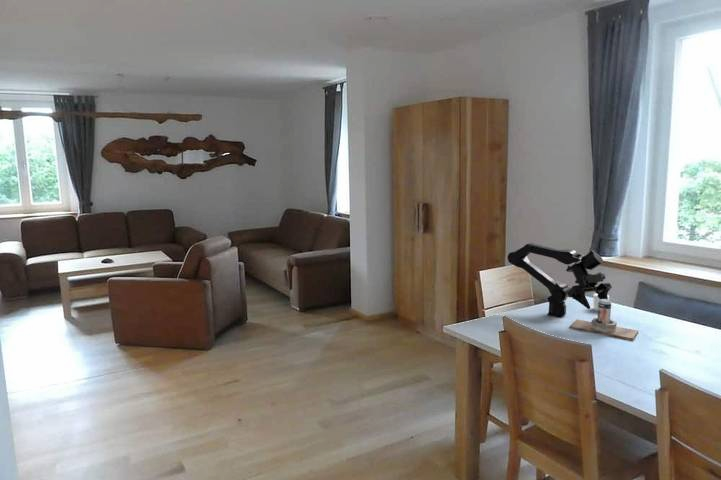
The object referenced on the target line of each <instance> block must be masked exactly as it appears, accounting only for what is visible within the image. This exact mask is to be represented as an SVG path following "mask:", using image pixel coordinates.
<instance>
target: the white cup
mask: <svg viewBox="0 0 721 480" xmlns="http://www.w3.org/2000/svg"><path fill="white" fill-rule="evenodd" d="M597 295H598V294H597V293H596V292H595V293H593V296H592V297H593V310H595V311H597V312H598V305H599V301H600V299H599V298H598V296H597ZM607 297H608V300H610V295H609V294H607Z"/></svg>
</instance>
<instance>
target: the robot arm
mask: <svg viewBox="0 0 721 480" xmlns="http://www.w3.org/2000/svg"><path fill="white" fill-rule="evenodd" d="M530 254H535V255H540V256H543V257H547V258H551V259H554V260H556V261H557V262H559V263H562V264H564V265H567V267H566V269H565V271H566V272H568V273H572V275H573V276H574V278H575V281H574V283H575V284H576V285H573V286H571V287H569V285H570V284H567V283H565V281H563V280H562V279H560V280H558V281H556V280H555V279H553V278H552V277H551V276H549V275H548V274H546V272H545V271H543V270H542V269H540V268H539V267H538V266H537V265H535V264H534V263H532V262H531V261H530V260H529V258H528V256H529V255H530ZM507 261H508V263H509V264H510V265H513V266H515V267H516V268H520V269H523V271H525V272H527V273H528V274H529V275H530V276H532V278H534V279H535V280H537V281H538V282H539V283H541V284H542V285H543V286H544V287H545V288H547V289H548V291H549V293H550V296H547V303H548V312H547V315H548V316H553V317H556V318H557V317H558V318H563V317H564V316H565V315H566V314H567V305H566V301H567V299H568V298H569V299H570V298H571V299H572V300H575V301H576V302H578V303H580V305H582V306H583V307H585V308H586V309H587V310H590V309H591V306H590V303H589V301H588V299H587V297H586V293H591V292H595V293H597V294H598V295H597V296H598V298H599V299H608V297H607V295H609V294H608V293H609V292H610V290H611V289H612V285H611V283H610V282H604V280H606V274H605V273H604V271H601V272H597V273H595V274H592V273H589V271H588V270H590V271H593V270H595V269H596V268H598V267H599V266H601V265H603V264H604V259H603V258H602V256H601V255H599V253H597V252H595V250H594V249H593V250H591V251H589V252H588V253H587V254H586V255H583V254H580V253H578V252H577V251H576V250H574V249H564V248H563V249H557V248H553V247H549V246H543V245H539V244H536V243H533V242H530V243H526V244H525V245H524V246H522V247H520V248H519V249H517V250H514V251H511V252H509V253H508V255H507ZM573 263H574V264H573ZM600 282H601V283H600ZM577 284H578V285H577Z"/></svg>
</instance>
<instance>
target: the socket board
mask: <svg viewBox="0 0 721 480" xmlns="http://www.w3.org/2000/svg"><path fill="white" fill-rule="evenodd" d="M597 318H598V317H595V318H592V320H591V321H587V320H583V319H576V320H574V321H573V322H572V323H571V324H570V325H569V329H571V330H576V331H580V332H585V333H591V334H594V335H595V334H596V335H602V336H605V337H606V336H607V337H611V338H616V339H621V340H627V341H632V342H633V341H634V340H635V339H636V337H637V336H638V334H639V330H636V329H632V328H627V327H626V328H625V327H621V326H617V324H618V323H617V321H615V320H613V319H611V318H610V324H601V323H598V322H597Z"/></svg>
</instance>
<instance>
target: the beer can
mask: <svg viewBox="0 0 721 480" xmlns="http://www.w3.org/2000/svg"><path fill="white" fill-rule="evenodd" d="M611 312H612V301H611V300H610V299H609V300H608V299H600V301H599V305H598V311H597V317H596V318H597V322H598V323H601V324H610V319H611Z"/></svg>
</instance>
